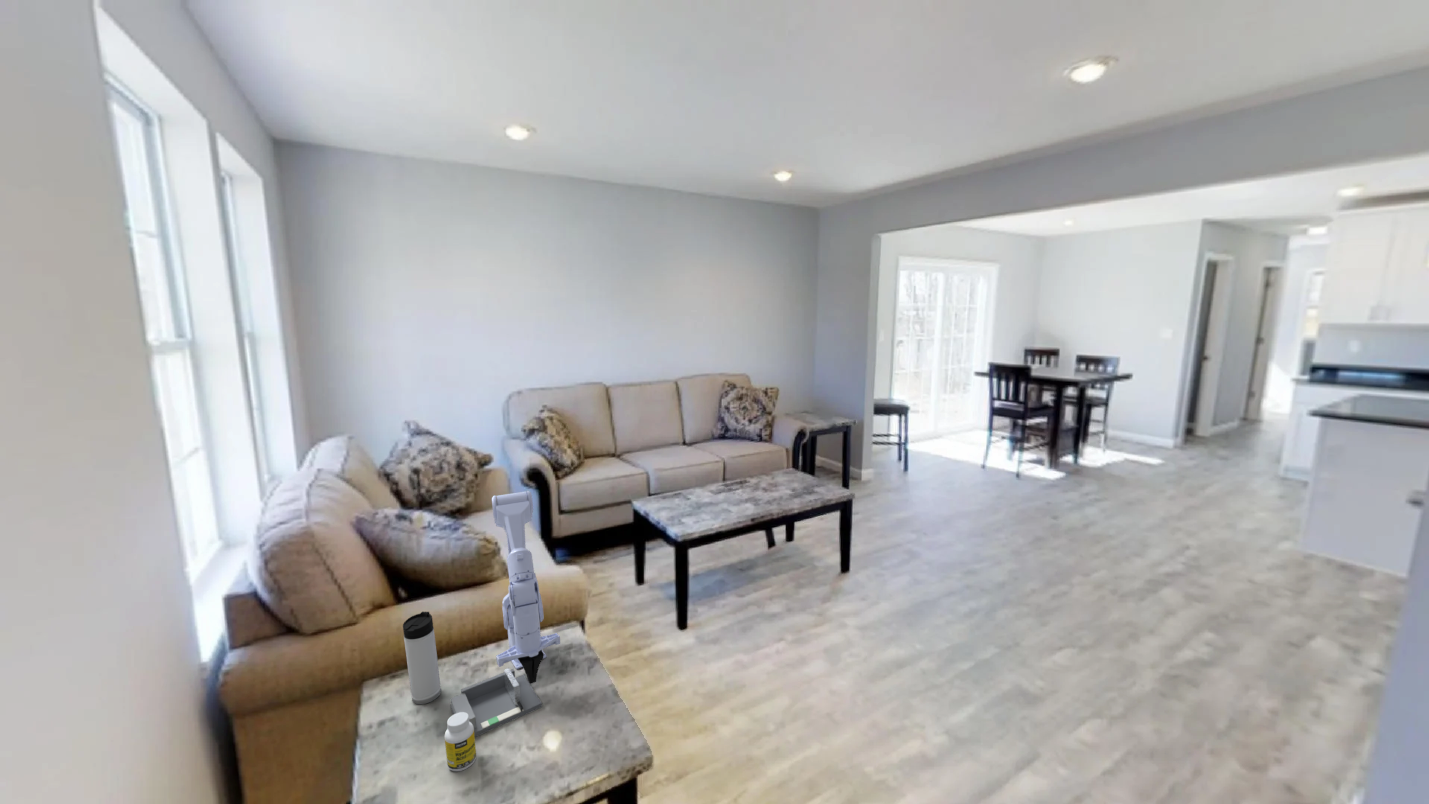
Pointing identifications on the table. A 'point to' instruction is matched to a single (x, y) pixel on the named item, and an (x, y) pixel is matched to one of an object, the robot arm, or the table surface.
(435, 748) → the table surface
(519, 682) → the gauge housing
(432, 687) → the travel mug
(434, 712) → the table surface
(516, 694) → the paddle
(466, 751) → the supplement bottle
